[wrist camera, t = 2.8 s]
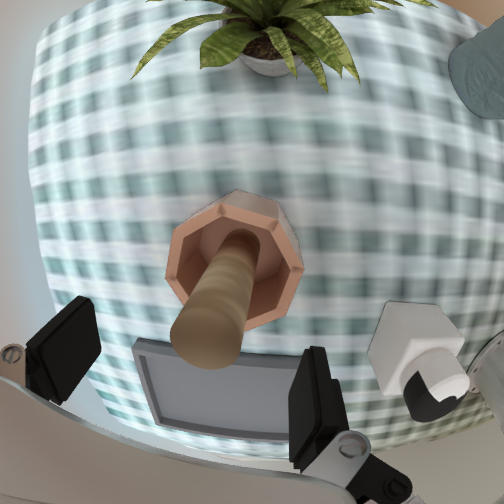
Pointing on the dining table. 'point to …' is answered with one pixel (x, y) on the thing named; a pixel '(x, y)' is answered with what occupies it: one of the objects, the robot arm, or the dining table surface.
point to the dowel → (218, 305)
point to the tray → (217, 393)
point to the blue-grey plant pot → (481, 71)
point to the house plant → (275, 35)
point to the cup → (269, 262)
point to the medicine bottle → (419, 359)
